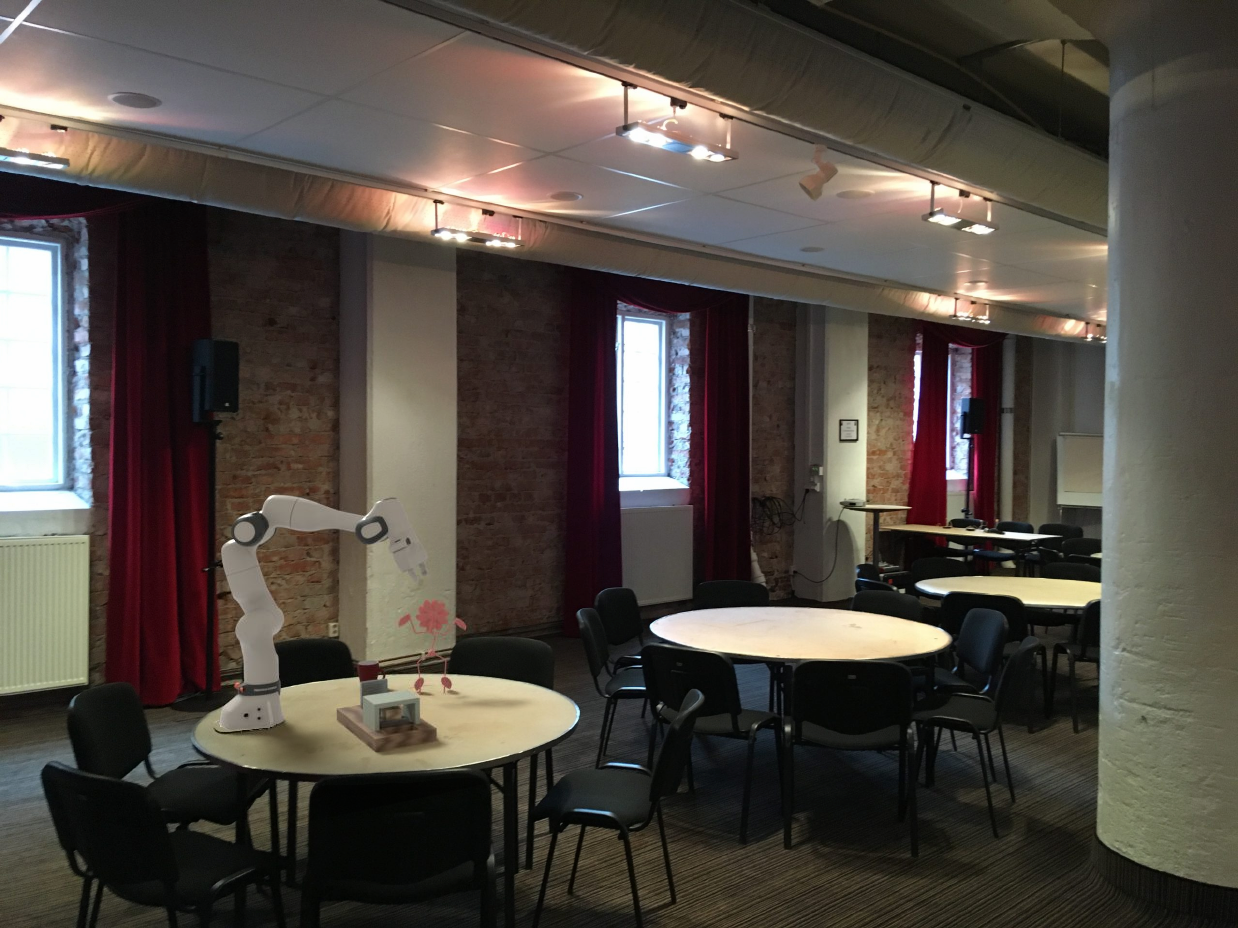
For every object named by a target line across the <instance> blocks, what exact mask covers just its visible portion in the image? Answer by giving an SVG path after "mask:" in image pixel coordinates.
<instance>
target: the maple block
mask: <svg viewBox="0 0 1238 928" xmlns="http://www.w3.org/2000/svg"><path fill="white" fill-rule="evenodd" d="M381 719H382V720H383V721H390V720H396V719H401V708H400V707H399V706H392V707H386V708H381Z"/></svg>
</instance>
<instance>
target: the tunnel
mask: <svg viewBox="0 0 1238 928" xmlns="http://www.w3.org/2000/svg"><path fill="white" fill-rule="evenodd" d="M398 705H402V706H403V714H404V715H406V716H407V717H409V719H410V721H411V722H413V723H414V724H420V718H421V697H419V696H418V695H416V694H414V693H413V692H411V691H410V690H409V689H403V690H394V691H389V692H388V693H381V694H374V695H368V696H363V723H365V724H366V725H367V726H369V727H370V728H371V729H372V730H374V731H379V708H386V707H392V706H398Z"/></svg>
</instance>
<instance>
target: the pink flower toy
mask: <svg viewBox="0 0 1238 928" xmlns="http://www.w3.org/2000/svg"><path fill="white" fill-rule="evenodd" d="M445 608H446V603H445V602H443V601H442V602H439V600H438V599H433V600H432V601H431V602H430V601H429V600H428V599H424V601H423V604H422V605H419V606H418V608H417V611H418V612H419V613H417V614H416V615H415V616H414V617H415V619H416V620H417V621H419V624H418V626H419V627H420V628H425V629H426V630H425V631H418V632H416V629H415V627H414V623H413V620H412V618H411V614H410V613H407V614H404V615H403V616H402V617H400V619H398V627H399V628H400V627H403V626H404V625H406V624H407V623H408V622H409V621H410V624H411V627H412V630H413V633H414V634H415V635H419V634H426V633H429V634H431V635H432V636H433V641H432V645H431V649H430V650H428V653H427V654H426V655H425V656H423V657H422V658H420V659H419V660H418V661H417V662H416V663H417V664H416V665H417V670H418V678H417V679H416V680H415V682H414V684H413V687H412V689H414V690H415V691H416V692H419V693H418V694H419V695H420V694H422V693H421V692H422V687H423V686H424V687H427V686H429V687H430V684H427V685H424V684H425V680H424V679H425V678H424V677H422V676H421V673H420V664H419V663H420V662H421V661H422V660H424V659H425V658H426V657H430V658H433V657H435V656H437V657H439V658H441V659H442V660H443V661H445V663H444V664H445V665H444V676H442V677H441V678H440V682H441V685H442V686H443V694H444V693H445V694H446V689H449V690H451V688H452V686H453V683H452V681H451V679H450V678H449V677H448V676H446V674H447V673H446V672H447V659H445V658H444V657H442V656H440V655H438V654H436V651H435V650H434V649H433V648H434V644H435V641H436V634H437V635H439V636H443V637H446V635H447V634H448V632H450V630H451V628H452V627H453V626H454V625H455V623H456V625H457V626H458V627H459V628H461V629H462V630H464V631H466V629H467V625H466V623H465V622H464V621H463V620H462V619H460V618H458V617H456V618H455V620H454V621H453V622H452V623H451V625H450V626H449V628H448V629H447V631H446V632H445V633H441V632H439V631H441V630H442V629H443V625H448V624H449V620H448V617H447V616H449V615H450V612H449V610H447V609H445ZM434 629H435V630H436V631H434ZM437 631H438V632H437ZM409 689H411V687H409V688H408V690H409Z"/></svg>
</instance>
